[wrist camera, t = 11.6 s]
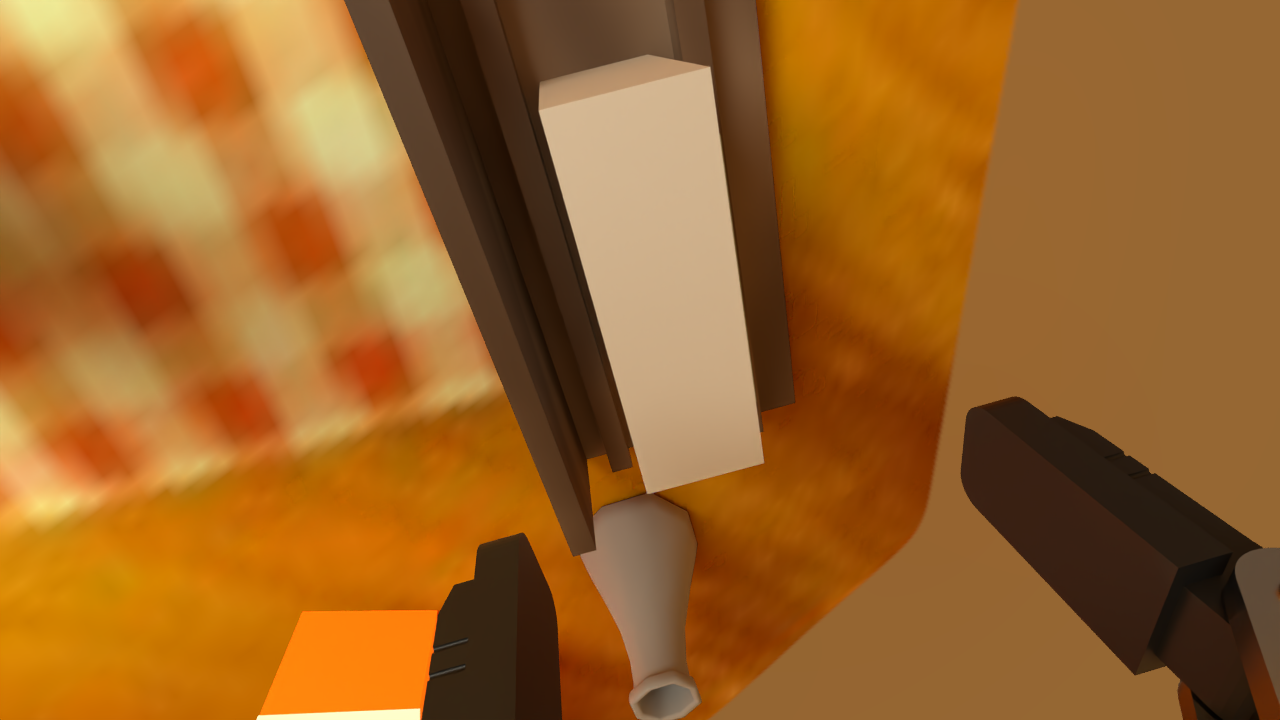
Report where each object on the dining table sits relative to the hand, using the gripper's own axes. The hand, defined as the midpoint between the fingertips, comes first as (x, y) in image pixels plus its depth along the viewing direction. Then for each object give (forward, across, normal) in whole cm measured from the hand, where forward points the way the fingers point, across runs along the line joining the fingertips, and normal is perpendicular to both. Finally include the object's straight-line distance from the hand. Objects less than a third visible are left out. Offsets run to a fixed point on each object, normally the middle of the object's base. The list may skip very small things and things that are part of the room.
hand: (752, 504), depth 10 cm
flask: (+18, +3, +19) cm, 26 cm away
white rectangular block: (+16, 0, 0) cm, 16 cm away
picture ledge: (+17, 0, 0) cm, 17 cm away
